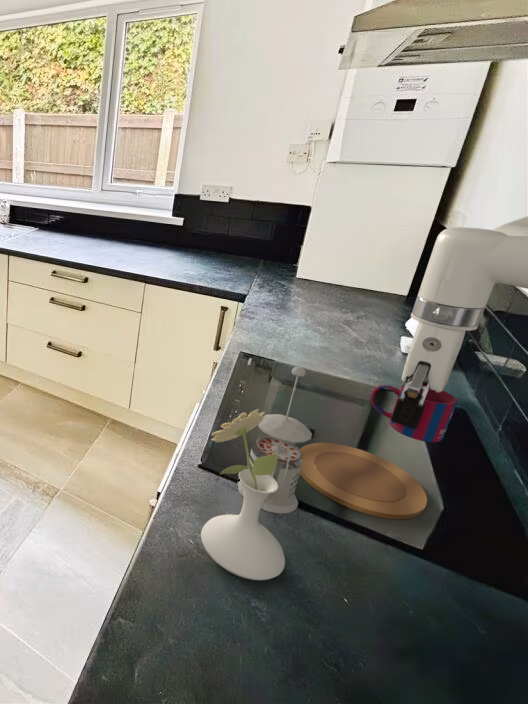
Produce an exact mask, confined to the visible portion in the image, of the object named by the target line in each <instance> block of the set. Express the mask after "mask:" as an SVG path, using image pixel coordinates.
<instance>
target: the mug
mask: <svg viewBox="0 0 528 704" xmlns="http://www.w3.org/2000/svg"><path fill="white" fill-rule="evenodd" d="M405 384H406V383H403V384H402V385H401V386H400V389H398V388H396V387H395V386H392V385H389V384H379V385H377V386H375V387H374V388H373V389H372V390H371V391H372V392H371V393H370V404H371V405H372V407H373V409H375V411H377V412H378V413H379V414H380V415H381V416H384V417H386V418H388V419H389V421H388V424H389V425H390V426H389V427H391V428H392V429H393V430H394V431H396V432H397V433H399V434H401V435H403V436H405V437H407V438H410V439H412V440H416V441H421V442H424V443H438V442H441V441H443V438H444V437H445V434H446V431H447V429H448V426H449V424H450V422H451V419H452V416H453V413H454V412H455V409H456V406H457V403H458V399H457V398H456V396H454V395H453V394H451V393H449V392H447V391H446V390H443V391H441V392H438V393H437V392H436V391H435V390H432V389H430V390H429V391H428V394H427V396H426V399H425V401H424V404H423V405H424V406H425V408H424V410H423V413H422V416H421V418H420V421H419V424H418V426H417V428H416V429H413V428H410V427H407V426H404V425H401V424H398V423H395V422H393V421H392V420H391V418H392V415H393V412H394V409H395V406H396V404H397V401H398V398H400V397H401V394H402V392H403V389H404V387H405ZM423 386H426V387H427V385H423ZM381 389H382V390H383V389H386V390H390V391H392V392H393V393H394V394H395V395H396V396H397V397H396V400H395V404H394V407H393V409H392V412H388V411H386V410H384V409H383V408H381V407H380V406H379V405H377V403H376V401H375V400H376V399H375V397H376V393H377V392H378V391H379V390H381ZM423 391H424V390H420V392H419V393H421V395H422V393H423Z"/></svg>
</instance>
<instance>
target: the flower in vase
mask: <svg viewBox="0 0 528 704" xmlns="http://www.w3.org/2000/svg"><path fill="white" fill-rule="evenodd" d="M259 411H260V409H259V408H257V409H255V410H253V411H251V412H250V413H249V414H247V412H245V411H244V412H242V413H240V414H239V415H238V417H236V418H234V419H232V422H224V423H222V424H221V425H220V427H221V429H220V430H216V431H214V432H212V433H211V434H210V436H212V438H211V439H210V440H211V441H212V442H214V443H224V442H229V441H232V440H233V439H236V438H238V437H240V436H241V437H242V439H243V443H244V449H245V455H246V465H243V464H236V465H232V466H229V467H226V468H225V469H223V470H222V471H220V472H219V475H218V476H220V475H224V474H226V475H236V474H238V480H239V479H240V481H241V483H242V485H243V488H244V497H243V501H242V507H241V509H240V513H239V514H230V513H229V514H222V515H221V514H220V515H217V516H213V517H211V518H210V519H208V520H207V522H205V524H203V527H202V529H201V530H200V531H201V532H200V538H201V542H202V545H203V547H204V549H205V551H206V552H207V554H208V555H209V557H210V558H211V559H212V560H213V561H214V562H215V563H216V564H217V565H218V566H220V567H221V568H223V570H225V571H227V572H228V573H230V574H233V575H235V576H237V577H240V578H242V579H245V580H246V579H247V580H251V581H267V580H271V579H273V578H276V577H278V576H280V574H281V573H283V571H284V569H285V566H286V558H285V554H284V550H283V548H282V545H281V544H280V542H279V541H278V540H277V538H276V537H275V535H273V534H272V532H270V531H269V530H268V529H267V528H266V527H265V526H263V525H262V524H261V523H259V516H260V512H261V510H262V509H261V506H262V504H263V502H264V500H265V498H266V497H267V496H268V495H269V494H271V493H274V492H275V491H276V490H277V489H278V483H277V482H276V480H275V479H274V478H273V477H271V476H270V475H269V474H271V473H273V471H274V469H275V465H276V454H272V455H268V456H263V457H259V458H257V459H255V460H254V461H253V462H254V463H253V469H251V467H252V466H251V465H250V461H249V457H250V453H249V446H248V441H247V437H246V436H247V435H246V434H247V433H248V432H250V431H252V430H253V429H254V428H256V427H257V426H258V425H259V424H260V422H261V421H262V420H263V418H264V417H265V415H266V412H265V411H262V412H259ZM247 465H248V467H247ZM247 468H249V469H247Z"/></svg>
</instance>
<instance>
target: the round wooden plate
mask: <svg viewBox="0 0 528 704" xmlns="http://www.w3.org/2000/svg"><path fill="white" fill-rule="evenodd" d="M299 449H300V450H301V452H302V454H303V455H302V458H301V459H302V461H303V464H302V468H301V471H300V476H301V477H302V478H303V479H304V480H305V482H306V483H308V484H309V485H310V486H311V487H312V488H313V489H315V490H316V491H317V492H319V493H320V494H321V495H323V496H325V497H327V498H328V499H330V500H332V501H334V502H336V503H337V504H340V505H341V506H344V507H346V508H348V509H351V510H354V511H356V512H359V513H362V514H365V515H368V516H373V517H377V518H383V519H389V520H407V519H413V518H417V517H418V516H420V515H421V514H422V513H423V512H424V511H425V510H426V507H427V504H428V496H427V494H426V492H425V490H424V488H423V486H422V485H420V483H419V482H418V481H417V480H416V479H415V478H414V477H413V476H412V475H410V474H409V473H408V472H406V471H405V470H403V469H402V468H400V467H399V466H397V465H396V464H394V463H392V462H390V461H389V460H387V459H386V458H385V459H384V458H382V457H380V456H379V455H376V454H374V453H372V452H369V451H365V450H363V449H360V448H356V447H353V446H350V445H344V444H338V443H331V442H315V443H314V442H313V443H309V444H305V445H303V446H302V447H301V448H299ZM295 468H296V469H297V468H300V467H299V466H297V465H295Z"/></svg>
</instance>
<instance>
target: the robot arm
mask: <svg viewBox="0 0 528 704" xmlns="http://www.w3.org/2000/svg"><path fill="white" fill-rule="evenodd" d="M426 266H427V267H426V269H425V272H424V276H423V278H422V281H421V284H420V287H419V290H418V294H417V296H416V298H415V301H414V304H413V308H412V311H411V313H410V318H412V319H413V320H415V321H417V323H418V324H417V326H416V328H415V332H414V335H413V338H412V341H411V345H410V346H409V349H408V353H407V356H406V360H405V363H404V367H403V370H402V371H403V372H402V376H401V381H402V383H403V384H405V387H404V389H403V392H402V394H401V397H400V398H398V401H397V404H396V406H395V405H394V406H395V409H394V408H393V409H394V412H393V411H392V412H393V415H392V418H391V420H392V421H393V422H395V423H398V424H401V425H404V426H407V427H410V428H413V429H416V428H417V426H418V424H419V421H420V418H421V416H422V413H423V410H424V408H425V406H424V405H423V404H424V401H425V399H426V396H427V394H428V391H429V390H430V389H432V390H435V391H436V392H437V393H438V392H441V391H444V389H445V388H446V385H447V384H448V381H449V379H450V376H451V373H452V371H453V368H454V365H455V363H456V360H457V359H458V355H459V352H460V350H461V348H462V344H463V342H464V338H465V335H466V331H467V332H468V331H475V330H477V329H478V327H479V325H480V321H481V319H482V317H483V314H484V311H485V309H486V306H487V304H488V301H489V299H490V296H491V294H492V291H493V289H494V286H495V285H496V284H502V285H507V286H513V287H518V288H523V289H527V290H528V215H527V216H523V217H521V218H518V219H514V220H511V221H509V222H506V223H503V224H501V225H499V226H497V227H495V228H493V229H488V228H479V227H464V226H463V227H462V226H461V227H459V226H457V227H455V226H454V227H449V228H445V229H443V230H442V231H440V233H438V235H437V237H436V240H435V242H434V245H433V248H432V251H431V254H430V257H429V260H428V263H427V265H426ZM423 385H427V387H426V386H423ZM420 390H424V391H423V393H422V395H421V393H419V392H420Z"/></svg>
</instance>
